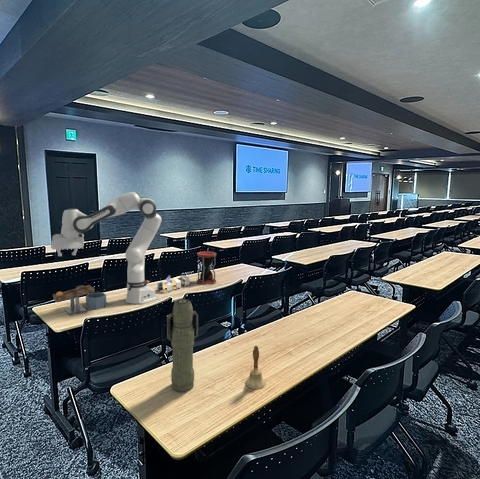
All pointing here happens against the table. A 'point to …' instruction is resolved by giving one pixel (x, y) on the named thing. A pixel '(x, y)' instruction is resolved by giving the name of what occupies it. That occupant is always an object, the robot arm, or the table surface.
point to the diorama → (173, 282)
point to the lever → (71, 293)
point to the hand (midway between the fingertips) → (66, 255)
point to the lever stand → (73, 308)
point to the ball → (59, 294)
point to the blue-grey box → (96, 300)
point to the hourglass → (206, 267)
